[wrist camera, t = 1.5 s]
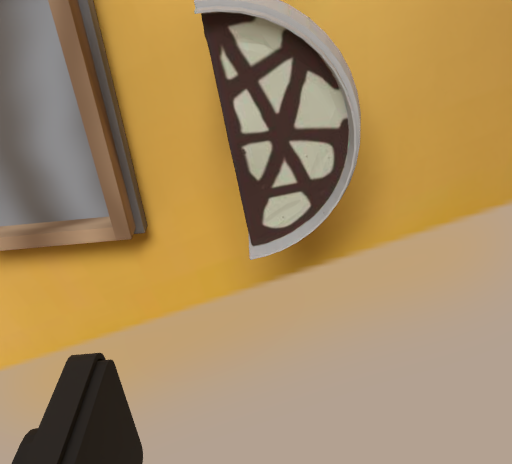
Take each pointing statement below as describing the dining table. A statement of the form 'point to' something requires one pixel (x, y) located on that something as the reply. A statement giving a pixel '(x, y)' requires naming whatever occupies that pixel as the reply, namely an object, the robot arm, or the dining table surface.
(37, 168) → the board
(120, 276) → the dining table surface
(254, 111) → the food container
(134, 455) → the robot arm
